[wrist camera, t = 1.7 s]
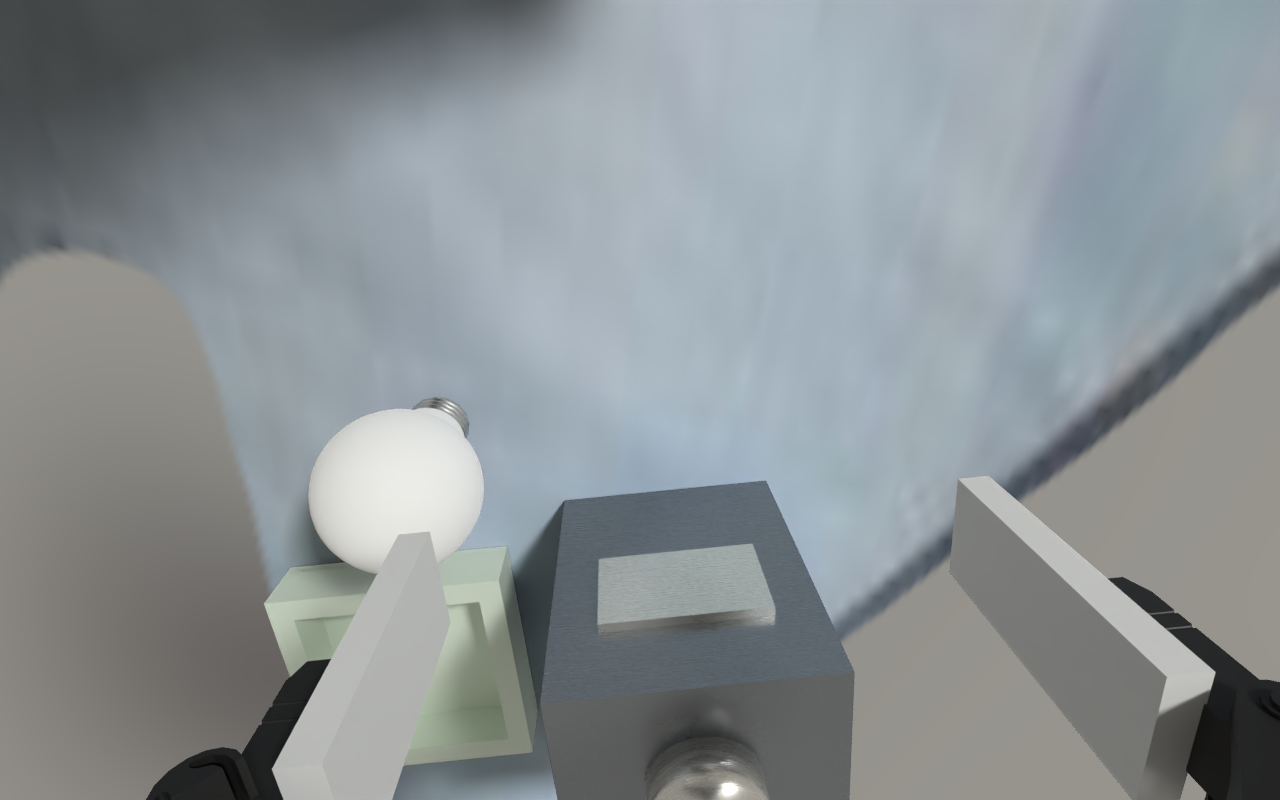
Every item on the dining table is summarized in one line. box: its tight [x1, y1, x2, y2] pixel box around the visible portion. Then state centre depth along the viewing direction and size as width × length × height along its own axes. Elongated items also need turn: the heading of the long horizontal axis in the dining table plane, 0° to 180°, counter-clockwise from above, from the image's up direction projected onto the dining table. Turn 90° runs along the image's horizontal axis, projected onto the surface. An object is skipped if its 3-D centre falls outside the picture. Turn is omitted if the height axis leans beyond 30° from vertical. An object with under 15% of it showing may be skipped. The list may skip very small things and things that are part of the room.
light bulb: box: [308, 397, 484, 574], centre depth 29 cm, size 7×7×11 cm
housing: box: [540, 481, 854, 800], centre depth 30 cm, size 9×11×16 cm
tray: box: [264, 546, 538, 766], centre depth 38 cm, size 12×12×3 cm
